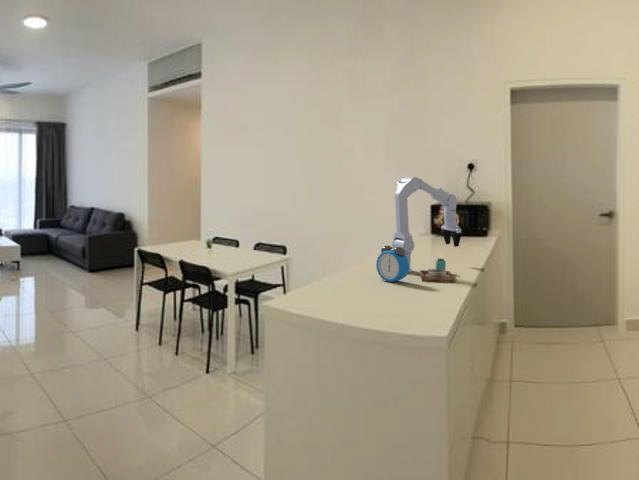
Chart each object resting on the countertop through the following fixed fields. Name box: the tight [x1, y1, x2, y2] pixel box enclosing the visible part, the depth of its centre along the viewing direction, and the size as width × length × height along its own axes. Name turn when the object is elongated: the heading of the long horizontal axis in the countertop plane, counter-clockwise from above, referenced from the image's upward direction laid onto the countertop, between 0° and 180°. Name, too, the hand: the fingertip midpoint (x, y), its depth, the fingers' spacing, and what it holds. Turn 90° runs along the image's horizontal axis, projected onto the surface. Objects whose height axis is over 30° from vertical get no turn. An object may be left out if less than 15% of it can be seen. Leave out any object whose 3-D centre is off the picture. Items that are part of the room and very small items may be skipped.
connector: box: [434, 257, 447, 271], centre depth 208 cm, size 4×4×7 cm
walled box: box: [419, 268, 455, 283], centre depth 197 cm, size 13×13×4 cm
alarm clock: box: [376, 244, 409, 284], centre depth 191 cm, size 13×6×15 cm, turn 44°
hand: (452, 245), depth 226 cm, fingers open, 7 cm apart
